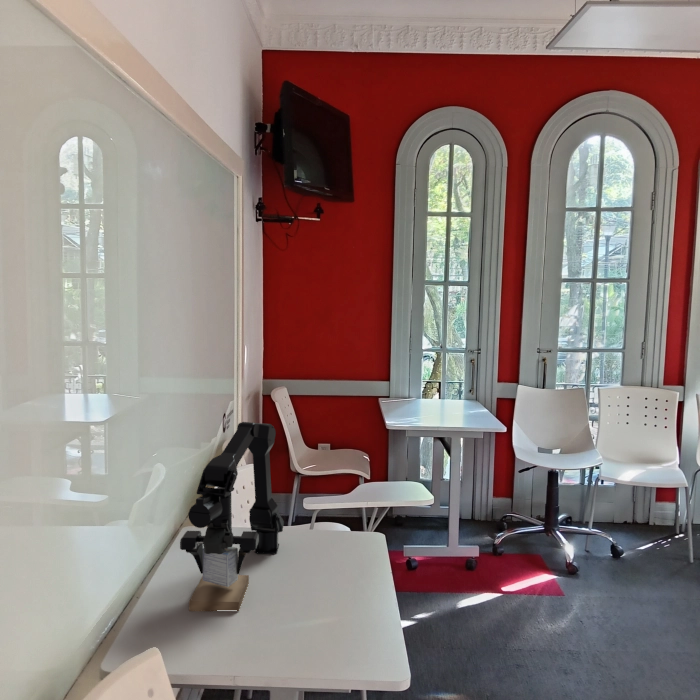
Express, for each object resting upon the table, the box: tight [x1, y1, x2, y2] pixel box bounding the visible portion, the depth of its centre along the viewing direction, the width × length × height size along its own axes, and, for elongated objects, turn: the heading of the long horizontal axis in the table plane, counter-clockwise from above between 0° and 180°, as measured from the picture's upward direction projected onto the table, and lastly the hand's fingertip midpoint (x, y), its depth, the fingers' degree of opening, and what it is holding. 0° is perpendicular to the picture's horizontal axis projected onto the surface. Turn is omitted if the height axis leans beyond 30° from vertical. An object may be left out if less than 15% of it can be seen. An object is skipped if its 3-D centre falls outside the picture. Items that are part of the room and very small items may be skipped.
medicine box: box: [202, 546, 239, 587], centre depth 152 cm, size 8×4×9 cm, turn 65°
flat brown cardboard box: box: [188, 574, 250, 612], centre depth 152 cm, size 12×14×3 cm
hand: (220, 573), depth 152 cm, fingers closed on medicine box, 9 cm apart
